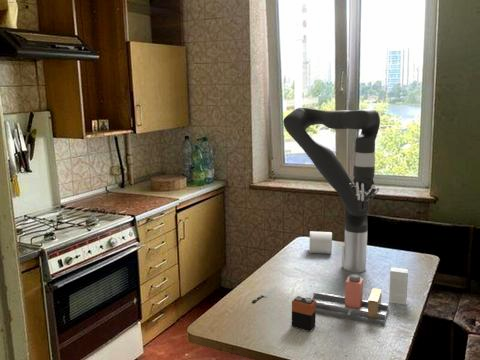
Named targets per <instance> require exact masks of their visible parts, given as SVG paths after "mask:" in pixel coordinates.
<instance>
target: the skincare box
mask: <svg viewBox="0 0 480 360" xmlns="http://www.w3.org/2000/svg"><path fill="white" fill-rule="evenodd" d="M408 280H409V269H408V268H399V267H392V266H391V267H390V272H389V294H388V302H389V303H391V304H399V305H407V302H408V301H407V299H408V284H409V283H408V282H409V281H408Z"/></svg>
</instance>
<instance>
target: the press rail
mask: <svg viewBox="0 0 480 360" xmlns="http://www.w3.org/2000/svg"><path fill="white" fill-rule="evenodd" d="M382 291H383V290H382V289H380V288H372V289H371V291H370V292H371V293H370V294H369V297H368V300H366V299H362V307H361V309H359V308H354V307H348V306H345V295H343V296H342V295H337V294H331V293H326V292H325V293H324V292H319V291H313V293H312V297H311V299H312V300H315V301H316V314H321V315H325V316H330V317H331V316H332V317H336V318H341V319H346V320H351V321H357V322H363V323H367V324H372V325H378V326H385V324H386V320H387V317H388V313H389V309H390V308H389V303H384V302H382Z"/></svg>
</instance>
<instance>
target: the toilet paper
mask: <svg viewBox="0 0 480 360" xmlns="http://www.w3.org/2000/svg"><path fill="white" fill-rule="evenodd" d="M332 247H333V232H331V231H313V230H312V231H311V230H310V231H309V250H308V251H309V253H310V254H311V253H312V254H324V253H325V254H327V255H328V254H329V255H331V254H332V252H333V251H332V250H333V249H332ZM325 254H324V255H325Z"/></svg>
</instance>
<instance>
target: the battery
mask: <svg viewBox="0 0 480 360" xmlns="http://www.w3.org/2000/svg"><path fill="white" fill-rule="evenodd" d="M316 314H317V313H316V301H315V300H312V297H302V296H299V295H298V296H296V297H294V298H293V299H292V301H291V327H292V328H295V329H299V330H303V331H307V332H312V331H313V329H314V328H315V327H316V317H317V316H316Z"/></svg>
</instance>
